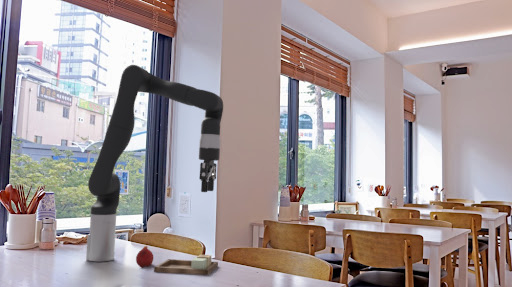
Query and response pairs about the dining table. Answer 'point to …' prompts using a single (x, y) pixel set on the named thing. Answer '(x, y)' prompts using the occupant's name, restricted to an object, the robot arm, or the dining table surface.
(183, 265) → the tray
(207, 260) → the oak block
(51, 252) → the dining table surface
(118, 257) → the dining table surface
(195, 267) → the sage block
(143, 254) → the onion
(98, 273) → the dining table surface
